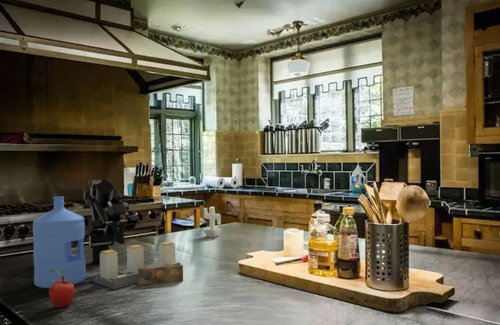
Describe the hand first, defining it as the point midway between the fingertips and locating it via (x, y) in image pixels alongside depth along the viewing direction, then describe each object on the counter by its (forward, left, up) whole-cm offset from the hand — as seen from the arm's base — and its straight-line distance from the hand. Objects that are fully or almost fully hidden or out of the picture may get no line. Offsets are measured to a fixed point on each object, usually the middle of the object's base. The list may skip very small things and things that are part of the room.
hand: (122, 243), depth 150 cm
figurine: (+40, +60, -10) cm, 73 cm away
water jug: (-20, -6, -10) cm, 23 cm away
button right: (+15, -4, -9) cm, 18 cm away
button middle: (+4, -6, -9) cm, 11 cm away
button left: (-4, -12, -9) cm, 15 cm away
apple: (-15, -32, -10) cm, 37 cm away
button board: (+5, -8, -10) cm, 14 cm away
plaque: (+12, -17, -10) cm, 24 cm away
